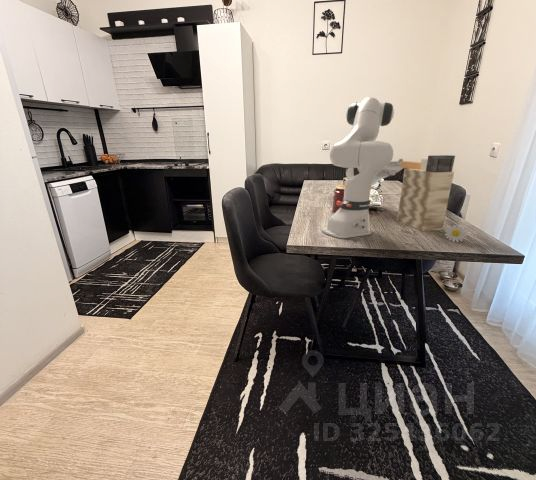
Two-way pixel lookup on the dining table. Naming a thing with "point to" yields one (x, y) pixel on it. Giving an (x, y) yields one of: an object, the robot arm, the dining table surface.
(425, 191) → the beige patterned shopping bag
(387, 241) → the dining table surface
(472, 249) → the dining table surface
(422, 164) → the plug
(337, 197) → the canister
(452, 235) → the decorative flower
